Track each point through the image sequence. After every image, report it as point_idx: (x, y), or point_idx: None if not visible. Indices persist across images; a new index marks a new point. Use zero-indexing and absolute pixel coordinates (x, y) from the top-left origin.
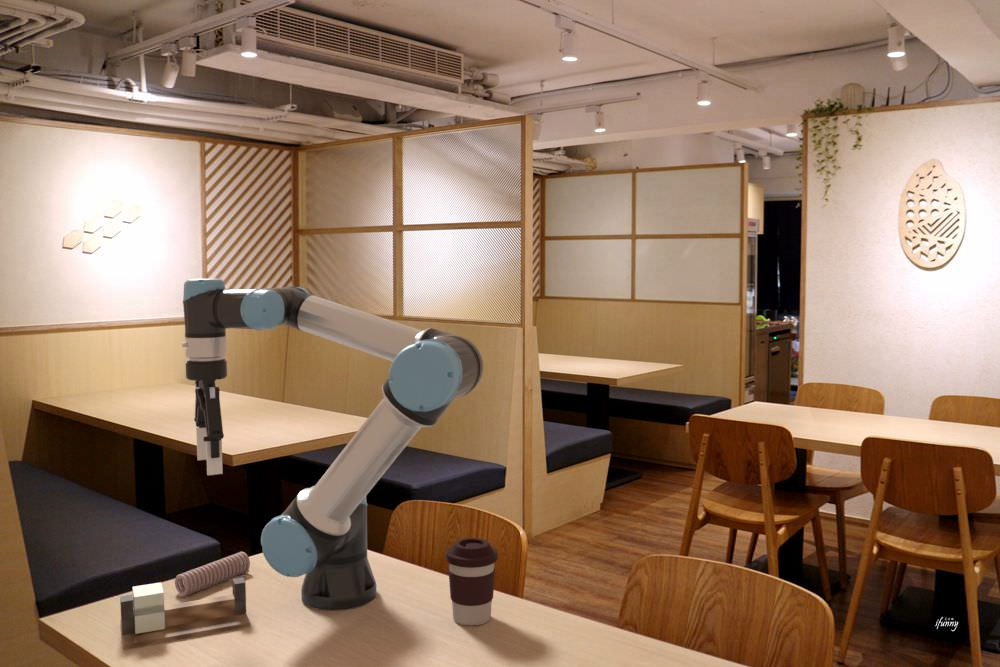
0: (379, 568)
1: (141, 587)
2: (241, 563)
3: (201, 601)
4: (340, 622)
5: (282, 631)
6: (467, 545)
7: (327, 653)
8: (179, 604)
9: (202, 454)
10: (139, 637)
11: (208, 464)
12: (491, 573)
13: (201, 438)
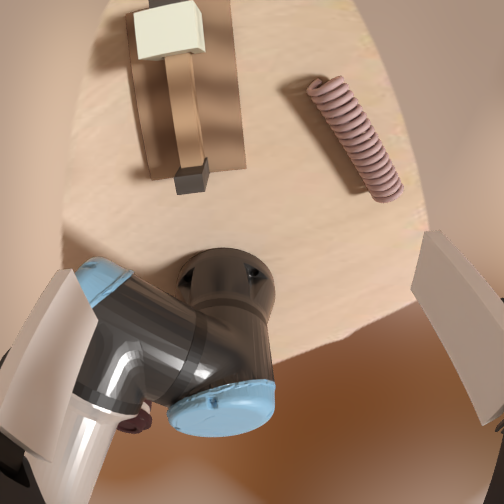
0: (300, 333)
1: (181, 15)
2: (369, 188)
3: (185, 115)
4: (144, 278)
5: (129, 216)
6: (127, 423)
7: (71, 255)
8: (183, 79)
9: (434, 270)
10: None
11: (36, 310)
12: None
13: (480, 337)
